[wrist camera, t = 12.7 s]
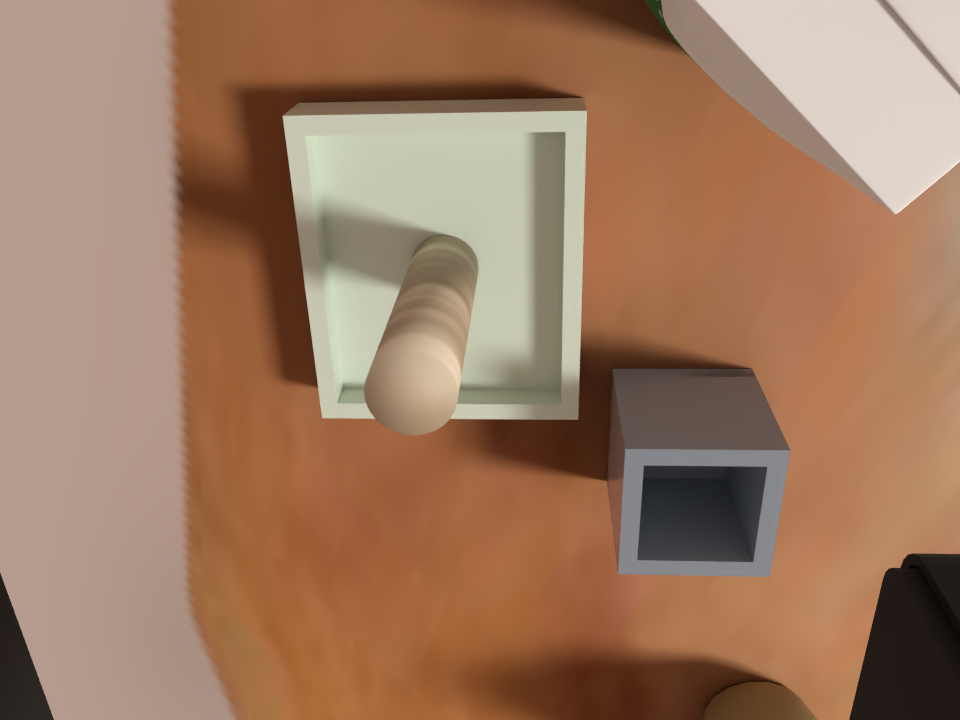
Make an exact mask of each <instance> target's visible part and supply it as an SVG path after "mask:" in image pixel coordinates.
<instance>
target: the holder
mask: <svg viewBox="0 0 960 720" xmlns="http://www.w3.org/2000/svg"><path fill="white" fill-rule="evenodd" d="M789 455H790V449H789V447H788V445H787V443H786V440H785V438H784V436H783V434H782V432H781V430H780V427H779V425H778V423H777V421H776V419H775V417H774V415H773V412H772V410H771V408H770V406H769V404H768V402H767V399H766V397H765V395H764V393H763V391H762V389H761V387H760V384H759V382H758V380H757V378H756V376H755V374H754V371H753V369H612V387H611V408H610V429H609V451H608V472H607V486H608V494H609V502H610V511H611V519H612V527H613V536H614V544H615V553H616V561H617V569H618V574H646V575H701V576H755V577H770V572H771V566H772V560H773V554H774V547H775V541H776V535H777V529H778V523H779V516H780V510H781V504H782V498H783V492H784V486H785V479H786V473H787V467H788V461H789Z"/></svg>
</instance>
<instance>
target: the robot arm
mask: <svg viewBox="0 0 960 720" xmlns="http://www.w3.org/2000/svg"><path fill="white" fill-rule="evenodd" d="M0 720H54V719H53V716H52V714H51V711H50V708H49V705H48V703H47V700H46V697H45V694H44V692H43V689H42V686H41V684H40V681H39V678H38V675H37V672H36V670H35V667H34V664H33V662H32V659H31V656H30V653H29V651H28V648H27V645H26V643H25V640H24V637H23V634H22V631H21V629H20V626H19V623H18V620H17V618H16V615H15V612H14V609H13V607H12V604H11V601H10V599H9V596H8V593H7V590H6V588H5V585H4V582H3V579H2V577H1V574H0ZM849 720H960V554H909V555H907V557H906V558H905V559H904V560H903V563H902V565H901V568H890V569H888V570H887V571H886V573H885V575H884V578H883V582H882V586H881V590H880V594H879V599H878V603H877V607H876V611H875V615H874V619H873V624H872V628H871V632H870V636H869V640H868V644H867V649H866V653H865V657H864V661H863V665H862V669H861V674H860V678H859V682H858V686H857V690H856V694H855V699H854V703H853V707H852V711H851V715H850V719H849Z"/></svg>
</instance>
